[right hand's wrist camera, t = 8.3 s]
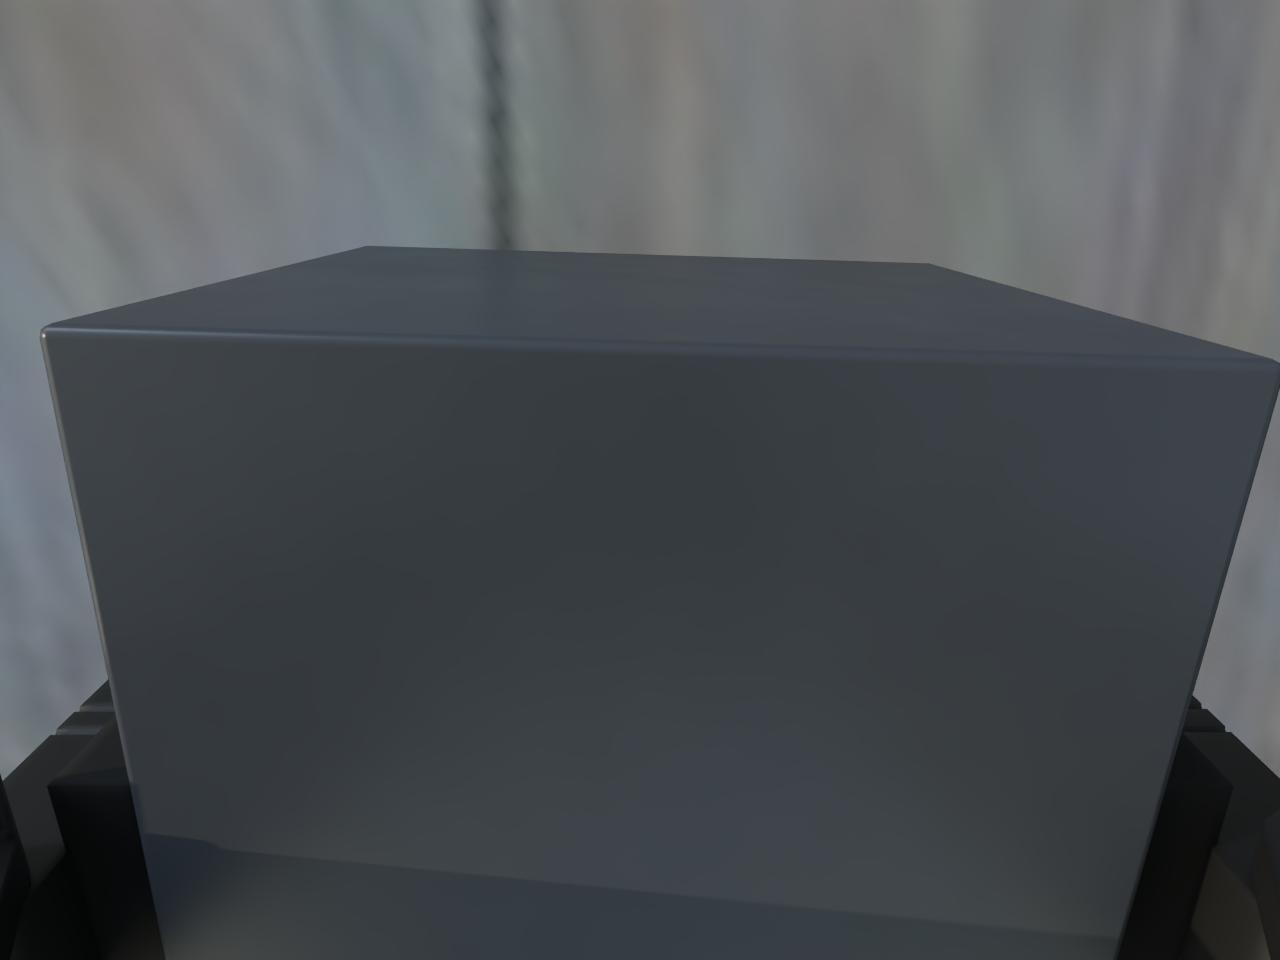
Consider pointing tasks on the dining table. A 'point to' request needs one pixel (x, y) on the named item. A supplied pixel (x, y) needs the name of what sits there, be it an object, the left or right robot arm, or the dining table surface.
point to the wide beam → (648, 602)
